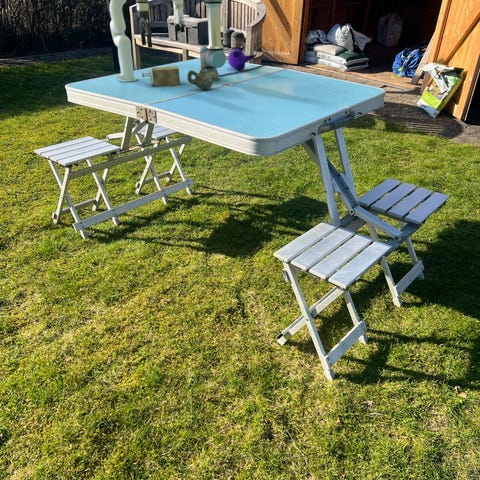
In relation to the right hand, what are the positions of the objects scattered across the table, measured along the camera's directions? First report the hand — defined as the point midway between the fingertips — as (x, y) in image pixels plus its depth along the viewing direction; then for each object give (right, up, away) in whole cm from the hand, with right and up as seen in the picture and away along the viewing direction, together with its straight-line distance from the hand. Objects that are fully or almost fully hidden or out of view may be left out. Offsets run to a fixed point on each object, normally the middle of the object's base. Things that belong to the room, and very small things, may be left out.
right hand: (147, 46), depth 297 cm
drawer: (+3, -14, +29) cm, 32 cm away
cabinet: (+8, -15, +30) cm, 34 cm away
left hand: (+16, +32, +47) cm, 59 cm away
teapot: (+37, -24, +12) cm, 46 cm away
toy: (+62, +13, +75) cm, 98 cm away
